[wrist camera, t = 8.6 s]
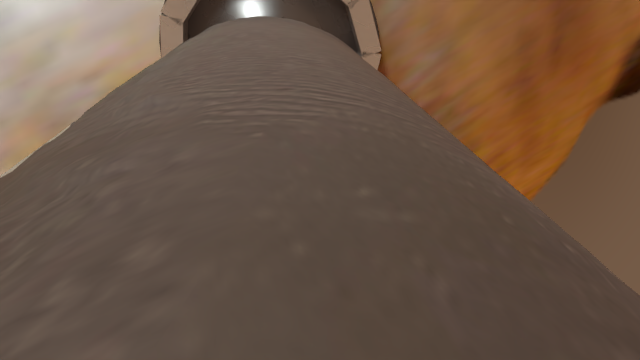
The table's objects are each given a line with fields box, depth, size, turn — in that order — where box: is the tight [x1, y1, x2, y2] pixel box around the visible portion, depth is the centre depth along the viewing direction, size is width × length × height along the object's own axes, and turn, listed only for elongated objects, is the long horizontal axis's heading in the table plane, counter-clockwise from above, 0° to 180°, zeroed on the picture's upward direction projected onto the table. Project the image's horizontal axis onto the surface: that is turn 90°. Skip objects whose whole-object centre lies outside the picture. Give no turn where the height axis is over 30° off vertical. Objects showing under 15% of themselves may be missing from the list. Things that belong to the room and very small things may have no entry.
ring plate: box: [160, 0, 381, 70], centre depth 27 cm, size 17×17×2 cm
